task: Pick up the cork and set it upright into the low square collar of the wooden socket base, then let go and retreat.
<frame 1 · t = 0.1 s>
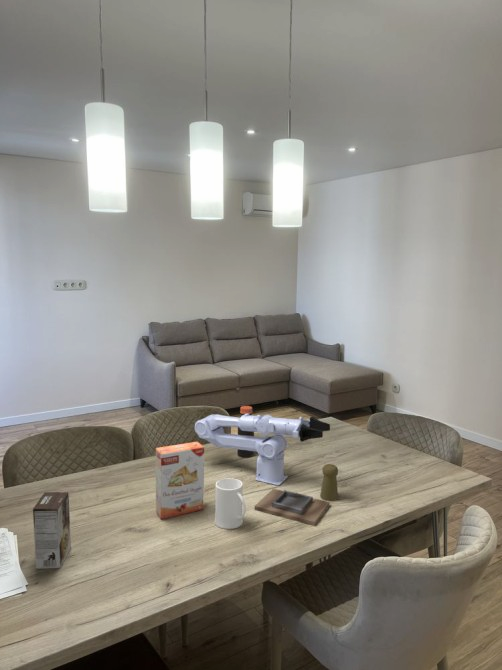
hand: (326, 430, 160), 22 cm above the table, tool horizontal, fingers open, 7 cm apart
coffee box: (53, 558, 123), on the table
wooden socket base: (292, 507, 151), on the table
bottle: (245, 455, 195), on the table
cracker box: (180, 511, 148), on the table
cork: (329, 497, 159), on the table
mug: (231, 524, 141), on the table
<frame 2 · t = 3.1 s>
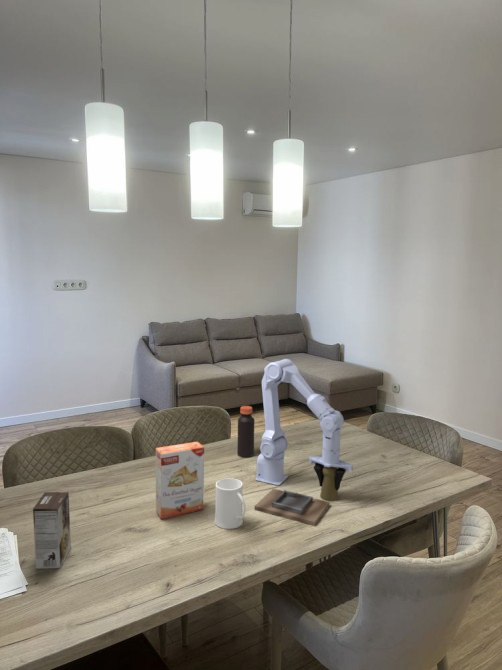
hand: (329, 487, 159), 3 cm above the table, tool pointing down, fingers closed on cork, 5 cm apart
cork: (329, 497, 159), on the table, touching gripper
everything else where it was.
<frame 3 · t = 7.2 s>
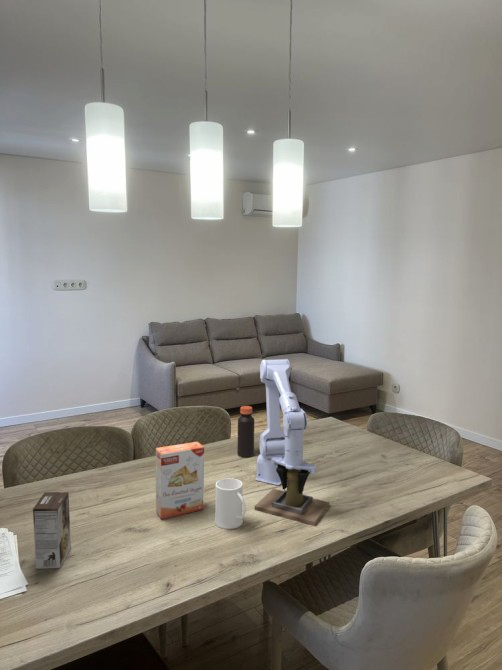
hand: (292, 490, 151), 6 cm above the table, tool pointing down, fingers closed on cork, 5 cm apart
cork: (294, 503, 152), point 1 cm above the table, touching wooden socket base, gripper
everything else where it was.
when the fingers open (6 cm above the table, at t = 7.9 s): cork stays where it is, resting on wooden socket base.
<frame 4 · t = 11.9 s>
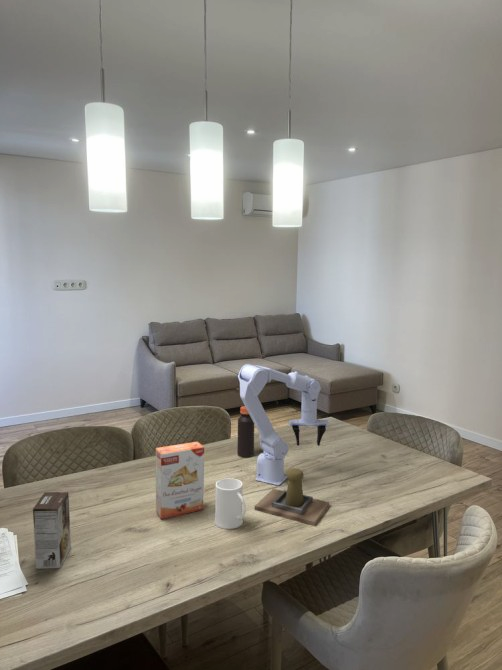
hand: (308, 444, 178), 10 cm above the table, tool pointing down, fingers open, 7 cm apart
cork: (294, 503, 152), point 1 cm above the table, touching wooden socket base
everything else where it was.
at the end: cork 1.0 cm off-centre on the wooden socket base, point 1.1 cm above the wooden socket base's base; cork tilted 0°; the gripper is holding nothing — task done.
